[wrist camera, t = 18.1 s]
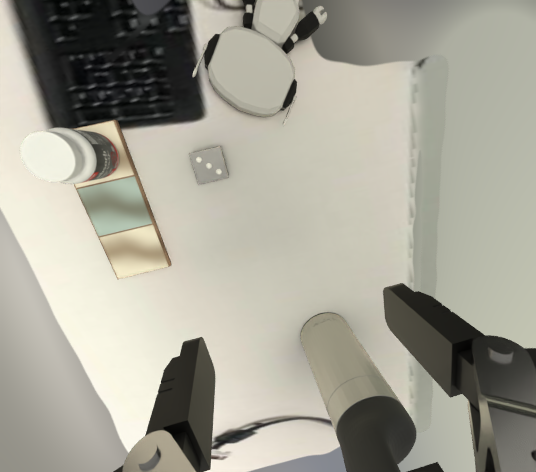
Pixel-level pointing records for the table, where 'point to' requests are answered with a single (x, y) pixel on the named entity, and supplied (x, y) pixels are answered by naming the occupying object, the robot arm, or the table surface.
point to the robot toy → (259, 57)
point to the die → (209, 165)
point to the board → (123, 212)
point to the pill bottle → (69, 155)
